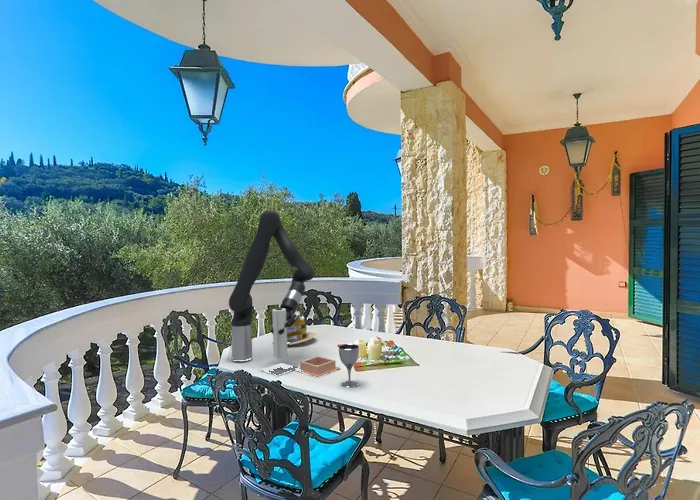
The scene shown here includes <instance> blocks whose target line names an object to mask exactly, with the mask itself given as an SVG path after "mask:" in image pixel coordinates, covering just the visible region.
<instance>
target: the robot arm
mask: <svg viewBox="0 0 700 500" xmlns="http://www.w3.org/2000/svg"><path fill="white" fill-rule="evenodd" d="M272 238H274V240H275V241H276V243H277V245H278V247H279V249H280V251H281V253H282V255H283V256H284V258H285V260H286V261H287V262H288V265H289V266H290V267H293V268H297V269H296V270H295V271H294V273H293V274H292V277H291V285H290V286H289V288H288V290H287V292H286V294H285V296H284V298H283V300H282V301H281V303H280V306H279V308H284V309H286V324H284V325H285V326H284V327H285V328H287V327H291V326H292V325H293V323H294V322H295V321H296V320H297V319H298V317H297V315H296V314H294V313H295V312H297V310H298V307H299V305H300V303H301V301H302V297H303V295H304V292H305V290H306V286H305V284H304V283H305V282H308V281H311V280H313V279H314V277H315V272H314V271H315V270H314V269H313V267H312V266H311V264H310V263H308V262H307V261H306V260H305V259H304V258H303V256H302V255H301V253H300V252H299V250H298V249H297V247H296V245H295V244H294V243H293V241H292V240H291V238H290V237H289V235H288V233H287V232H286V229H285V228H284V225H283V224H282V221H281V217H280V214H279V212H277V211H276V210H274V209H267V210H265V211H263V212H262V213H261V214H260V217H259V222H258V226H257V228H256V233H255V236H254V238H253V240H252V242H251V244H250V246H249V248H248V250H247V253H246V256H245V257H244V261H243V264H242V267H241V271H240V273H239V276H238V280H237V281H236V285H235V286H234V289H233V291H232V292H231V295H230V296H229V299H228V306H229V308H230V310H231V311H233V316H232V319H231V342H230V343H231V347H230V348H231V358H232V357H233V360H246V359H249V358H251V357H252V358H253V337H252V333H253V332H252V331H253V330H252V320H253V299H252V297H253V296H251V295H252V294H251V290H252V288H253V286H254V284H255V283H256V280H257V279H258V278H259V276H260V274H261V273H262V271H263V268H264V265H265V263H266V261H267V257H268V253H269V249H270V244H271V241H272ZM290 322H291V323H290ZM289 323H290V324H289ZM270 324H272V325H273V318H272V315H271V319H270ZM270 331H271V334H272V335H273V334H274V332H273V327H272V328H271V330H270ZM278 333H279V334H280V335H281V333H282V334H283V333H284V328H283V329H282V330H281V329H280V330H279V332H278ZM233 360H232V361H233Z"/></svg>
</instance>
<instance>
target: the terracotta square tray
mask: <svg viewBox="0 0 700 500" xmlns="http://www.w3.org/2000/svg"><path fill="white" fill-rule="evenodd" d="M336 364H337V363H336V359H335V360H334V359H331V358H327V357H324V356H323V357H322V356H320V355H317V356H314V357H310V358H308V359H305V360H302V361H299V368H300V369H301V372H304V373H307V374H310V375H312V376H311V377H313V376H316V377H319V376H322V375H324V374H327V373H329V374H331V373H330V372H332V371H334V372H336V371H335V370H337V371H339V370H338V369H340V370H341V367H338V366H337V365H336ZM317 365H318V366H317ZM302 370H303V371H302ZM332 373H333V372H332ZM310 375H309V376H310ZM327 375H328V374H327ZM324 376H325V375H324ZM316 377H315V378H316ZM322 377H323V376H322ZM319 378H320V377H319Z"/></svg>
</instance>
